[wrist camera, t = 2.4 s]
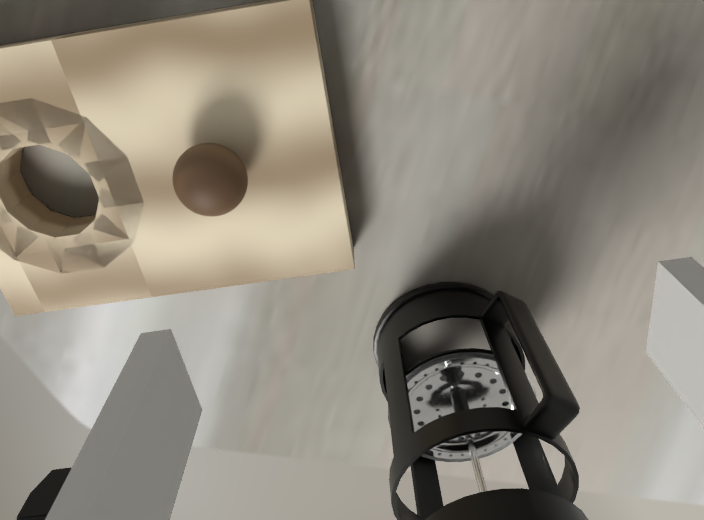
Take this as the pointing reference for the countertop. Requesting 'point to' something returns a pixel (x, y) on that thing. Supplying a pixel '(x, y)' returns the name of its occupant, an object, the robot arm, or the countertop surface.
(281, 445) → the countertop surface
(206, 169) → the ball
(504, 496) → the french press
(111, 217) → the cutting board
